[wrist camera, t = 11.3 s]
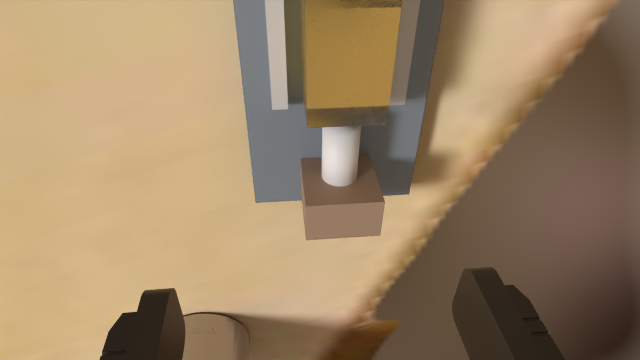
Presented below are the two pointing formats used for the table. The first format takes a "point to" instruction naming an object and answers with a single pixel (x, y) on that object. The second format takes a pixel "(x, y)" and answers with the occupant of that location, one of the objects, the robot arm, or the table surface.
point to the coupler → (348, 60)
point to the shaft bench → (292, 123)
